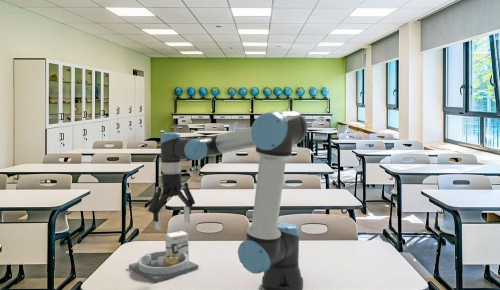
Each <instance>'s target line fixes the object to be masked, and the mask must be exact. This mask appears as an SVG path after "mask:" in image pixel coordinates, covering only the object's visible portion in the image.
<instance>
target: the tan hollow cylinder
mask: <svg viewBox="0 0 500 290" xmlns="http://www.w3.org/2000/svg"><path fill="white" fill-rule="evenodd" d="M169 257H172V258H169ZM177 264H178V255H176V254H167V255H165V256H164V267H168V266H174V265H177Z"/></svg>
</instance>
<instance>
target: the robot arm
mask: <svg viewBox="0 0 500 290" xmlns="http://www.w3.org/2000/svg"><path fill="white" fill-rule="evenodd" d="M307 133H308V124H307V121H306V119H305V117H304V116H303V114H300V113H299V112H297V111H294V110H286V111H285V110H282V111H272V110H271V111H268V112H265V113H262V114H260V115H259V116H258V117H257V118H256V119H254V122H253V123H252V126H249V127H245V128H242V129H241V128H240V129H236V130H232V131H229V132H223V133H220V134H216V135H211V136H206V137H205V136H204V137H197V138H182V137H181V133H180V132H176V131H175V132H173V131H171V132H163V133H161V135H160V157H161V159H160V160H161V161H160V163H161V165H160V166H161V172H162V173H161V184H162V185H161V186H155V187H154V194H153V196H152V198H151V202H150V205H149V207H148V209H147V211H148V212H149V213H152V215H153V218H152V220H153V222H154V226H155V227H154V229H155V230H157V231H161V230H162V223H161V221H162V219H161V212H160V211H161V209H162V208H163V205H164V204H165V202H166V201H167V200H168V199H169V198H172V197H178V198H179V199H180V200H181V201H182V202H183V204H184V206H183V216H184V217H183V218H184V219H183V220H184V223H186V224H190V223H191V222H190V221H191V220H190V219H191V217H190V216H191V214H192V209H191V208H192V207H193V206H194V205H195V204H196V202H195V199H194V197H193V195H192V193H191V191H190V189H189V183H188V182H185V181H182V159H183V160H184V159H185V160H192V161H196V160H198V161H200V160H203V159H204V158H205V157H210V156H211V157H212V156H217V155H218V156H219V155H221V154H222V155H223V154H227V153H230V152H235V151H236V152H237V151H241V150H246V149H252V148H255V152H256V153H257V155H258V156H259V159H258V167H257V168H258V169H257V177H256V185H255V188H256V189H255V195H254V203H253V214H252V222H251V225H250V226H249V227H247V229H246V234H245V240H243V241H242V242H241V243H240V245H238V249H237V255H238V260H239V262H240V263H241V264H242V267H243V268H244V269H246V270H247V271H248V272H250V273H252V274H262V273H263V275H262V279H261V286H262V287H261V288H262V289H264V290H302V289H303V288H304V278H303V276H302V273H301V270H300V264H299V256H300V255H299V250H300V249H299V248H300V247H299V245H300V235H299V234H300V232H299V228H298V226H297V225H295V224H291V223H286V222H279V217H280V216H279V215H280V208H281V201H282V200H281V199H282V194H283V193H282V191H283V185H284V178H285V169H286V161H287V159H288V158H290V157H291V156H292V153H293V146H294V145H298V144H299V143H301V142H302V141H303V140H304V138H305V137H306V135H307ZM181 190H182V191H181ZM183 192H184V193H183Z"/></svg>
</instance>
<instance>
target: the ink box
mask: <svg viewBox="0 0 500 290" xmlns="http://www.w3.org/2000/svg"><path fill="white" fill-rule="evenodd" d="M189 248H190V247H189V233H187V232H186V231H184V230H180V231H175V232H169V233H166V234H165V251H166V255H167V254H168V252H167V250H169V254H176V255H178V260H180V259H181V253H184V254H186V255H187V256H188V261H190V255H189Z"/></svg>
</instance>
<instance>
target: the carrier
mask: <svg viewBox="0 0 500 290" xmlns="http://www.w3.org/2000/svg"><path fill="white" fill-rule="evenodd" d="M167 252H168V254H169V250H167ZM165 255H166V250H161V251H160V250H159V251H153V252H149V253H146V254H144V255H142V256H140V257H139V258H138V260H137V261H136V262H134V263H130V264H128V269H129V270H131V271H134V272H135V273H137V274H138V275H141V276H143V277H145V278H147V279H148V280H150V281H151V282H154V283H155V284H156V283H159V282H161V281H165V280H168V279H170V278H171V279H172V278H174V277H177V276H180V275H184V274H187V273H190V272H193V271H195V270H199V264H197V263H195V262H192V261H190V260H188V256H187V255H186V254H184V253H181V259H180V260H178V264H177V265H174V266H168V267H164V256H165ZM169 258H172V257H169Z"/></svg>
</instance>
